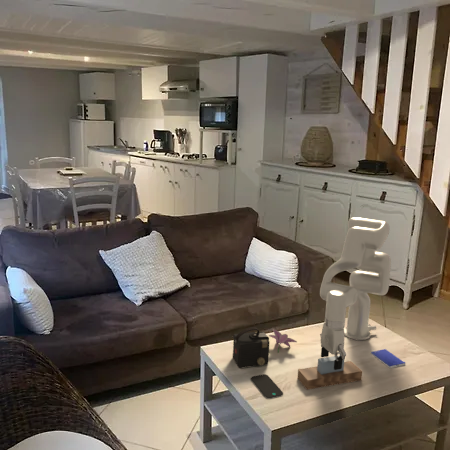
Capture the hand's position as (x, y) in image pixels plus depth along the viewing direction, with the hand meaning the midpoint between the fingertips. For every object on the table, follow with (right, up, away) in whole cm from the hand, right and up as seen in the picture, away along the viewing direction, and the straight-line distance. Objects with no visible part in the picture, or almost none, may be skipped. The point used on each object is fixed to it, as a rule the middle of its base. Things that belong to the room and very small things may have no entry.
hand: (330, 362), depth 186 cm
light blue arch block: (0, -7, +2) cm, 7 cm away
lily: (-16, -1, +25) cm, 30 cm away
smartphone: (-26, -8, -4) cm, 27 cm away
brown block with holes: (0, -7, +2) cm, 7 cm away
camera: (-31, -4, +13) cm, 34 cm away
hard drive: (+29, -5, +19) cm, 35 cm away
